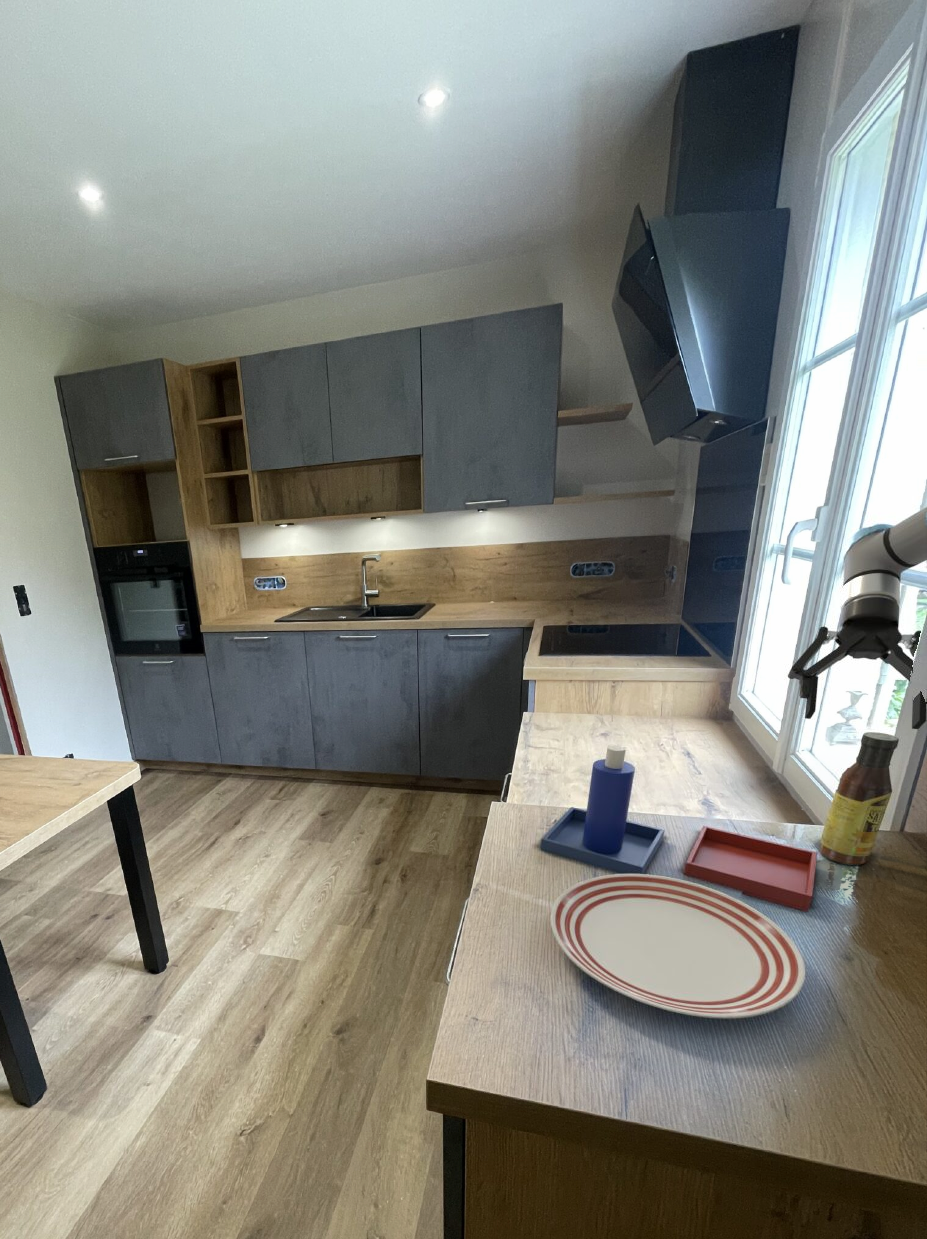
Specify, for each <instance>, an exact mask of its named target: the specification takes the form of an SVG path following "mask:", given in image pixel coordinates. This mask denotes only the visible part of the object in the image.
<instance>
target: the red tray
mask: <svg viewBox="0 0 927 1239" xmlns="http://www.w3.org/2000/svg"><path fill="white" fill-rule="evenodd" d="M817 857H818V851H813V850H809V849H805V848H801V847H796V846H792V845H788V844H784V843H779V842H775V841H771V840H766V839H762V838H758V837H754V836H749V835H745V834H740V833H737V832H731V831H727V830H724V829H719V828H715V827H710V826H706V825H703V826H702V828H701V830H700V832H699V834H698V836H697V839H696V841H695V842H694V845H693V847H692V849H691V851H690V854H689V855H688V858H687V860H686V862H685V865H684V870H683V876H688V877H691V878H695V879H699V880H701V881H705V882H709V883H712V884H715V885H718V886H719V885H720V886H723V887H726V888H730V889H734V890H738V891H740V892H741V891H742V893H741V894H742V895H745V896H749V897H753V898H756V899H760V900H763V901H767V902H771V903H774V904H777V905H782V906H785V907H789V908H792V909H796V910H800V911H802V912H806V913H808V912H809V908H810V905H811V902H812V899H813V894H814V884H815V876H816V868H817Z"/></svg>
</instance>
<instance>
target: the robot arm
mask: <svg viewBox="0 0 927 1239" xmlns="http://www.w3.org/2000/svg"><path fill="white" fill-rule="evenodd" d="M926 561H927V506H925V507H924V508H922V509H921V510H919V511H917V512H916V513H913V514H912V515H910V516H908V517H907V518H905V519H903V520H901V521H899V522H898V523H896V524H895V525H894V524H891V523H875V524H873V525H872V526H864V527H862V528H860V529H859V530H857V531H856V532H854V533H853V534H852V535H851V536H850V537H849V539H848V540H847V543H846V547H845V552H844V556H843V561H842V563H843V579H842V580H843V582H842V583H843V584H842V591H841V592H842V593H841V603H840V614H839V624H838V625H839V626H838V627H839V628H838V631H834V630H829V628H828V627H827V626H821V627H820V628H819V629H818V631H817V633H816V635H815V637H814V640H813V641H812V643H811V644H810V645H809V646H808V647H807V649H806V650H805V651H804V652H803V653H802V654H801V656H800V657H799V658H798V659H797V660H796V662H794V664H793V665H792V666H791V668H790V669H789V672H788V674H787V678H788V679H790V680H794V679H796V680H797V681H798V684H799V695H798V696H799V698H800V699H806V701H805V712H804V713H805V714H804V719H806V720H807V719H808V720H811V719H812V717H813V716H814V714H815V713H816V707H817V697H818V686H819V676H820V674H822V673H824V672H825V671H827V670H829V668H831V667H832V666H834V665H835V664H837V663H838V662H840V661H842V660H843V659H845V658H846V657H848V656H849V657H851V658H852V659H855V660H856V659H857V660H859V659H867V660H872V661H873V660H874V661H875V660H876V661H877V659H880V660H881V661H882V662H884V664H886V665H890V666H891V667H893V669H894V670H896V671H897V672H898V673H899V674H900V675H901V676H903V678H905V679H906V680H908V682H910V677H911V675H910V674H911V671H912V673H913V667H912V665H913V661H914V659H912V658H913V657H914V653H915V651H916V649H917V645H918V642H919V637H920V633H921V631H922V630H916V631H915V632H914V633H911V634H903V633H901V632H900V630H899V627H900V626H899V625H900V602H901V580H902V574H903V572H906V571H907V570H909V569H911V568H914V567H916V566H918V565H920V564H922V563H924V562H926ZM831 641H835V643H836V644H837V645H838V647H837V648H835V649H834V650H832V651H831V652H829V653H827V655H825V656H824V657H823V658H820V659H819V660H818V661H817V662H815V663H814V664H812V665H811V666H810V667H808V668H807V669H804V668H806V667H807V665H808V664H809V663H810V661H811V660H812V659H813V658H814V657H815V656H816V655H817V653H819V651H820V649H821V648H822V646H825V645H827V644H829V643H830V642H831ZM899 644H902V645H904V647H905V649H906V650H909V653H910V654H911V656H912V658H911V657H910V656H909V655H907V654H906V653H905V651H904V649H903V648H902V647H901V645H899ZM926 704H927V702H925V699H924V697H923V695H922V692H921V691H920V693H919V694H918V695H917V696H916V697H915V698H914V700H913V699H912V707H911V708H912V712H911V729H912V730H919V729H920V728H921V727H922V726H923V725H924V724H925V723H926V722H927V709H926Z"/></svg>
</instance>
